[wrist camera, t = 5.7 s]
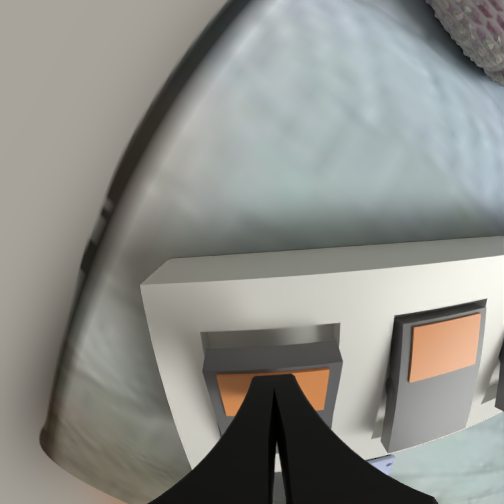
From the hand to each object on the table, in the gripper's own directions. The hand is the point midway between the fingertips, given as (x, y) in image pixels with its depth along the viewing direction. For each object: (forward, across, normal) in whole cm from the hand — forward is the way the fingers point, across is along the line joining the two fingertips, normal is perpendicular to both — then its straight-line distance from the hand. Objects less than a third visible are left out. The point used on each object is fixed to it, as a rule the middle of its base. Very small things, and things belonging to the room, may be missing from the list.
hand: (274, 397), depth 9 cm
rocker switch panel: (+7, -8, +2) cm, 11 cm away
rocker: (+2, 0, +2) cm, 3 cm away
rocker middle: (+2, -8, +2) cm, 9 cm away
